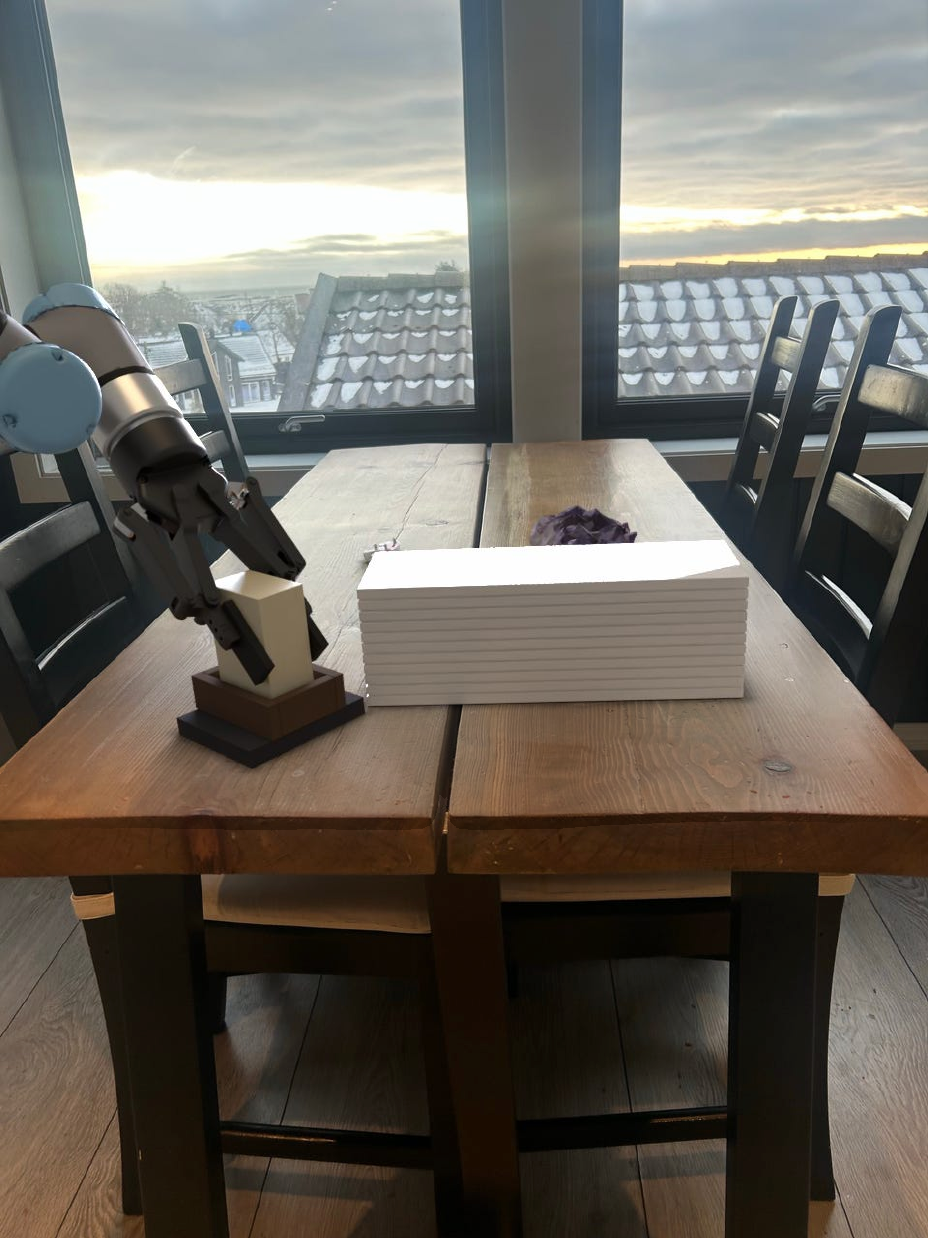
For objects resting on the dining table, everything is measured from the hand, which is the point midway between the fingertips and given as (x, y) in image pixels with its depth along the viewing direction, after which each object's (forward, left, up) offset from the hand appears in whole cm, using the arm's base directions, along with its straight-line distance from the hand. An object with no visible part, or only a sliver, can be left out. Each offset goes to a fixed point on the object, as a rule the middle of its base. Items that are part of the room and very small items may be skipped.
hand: (292, 664), depth 80 cm
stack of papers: (+23, +2, -6) cm, 24 cm away
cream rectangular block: (-2, +3, -5) cm, 6 cm away
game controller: (+21, +43, -7) cm, 49 cm away
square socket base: (-2, +3, -6) cm, 7 cm away
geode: (+36, +21, -7) cm, 42 cm away
